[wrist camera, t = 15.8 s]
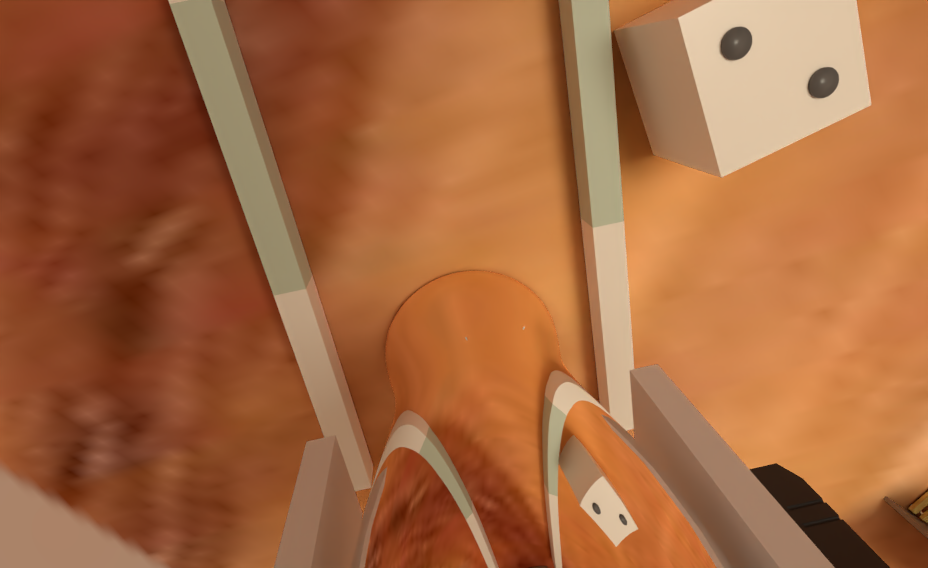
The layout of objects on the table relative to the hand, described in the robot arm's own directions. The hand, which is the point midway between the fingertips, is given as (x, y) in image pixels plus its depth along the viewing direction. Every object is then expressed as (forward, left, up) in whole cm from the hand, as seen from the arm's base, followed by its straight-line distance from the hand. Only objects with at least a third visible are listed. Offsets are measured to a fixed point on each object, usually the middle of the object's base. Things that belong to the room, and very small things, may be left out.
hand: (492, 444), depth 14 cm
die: (-8, +8, -5) cm, 13 cm away
